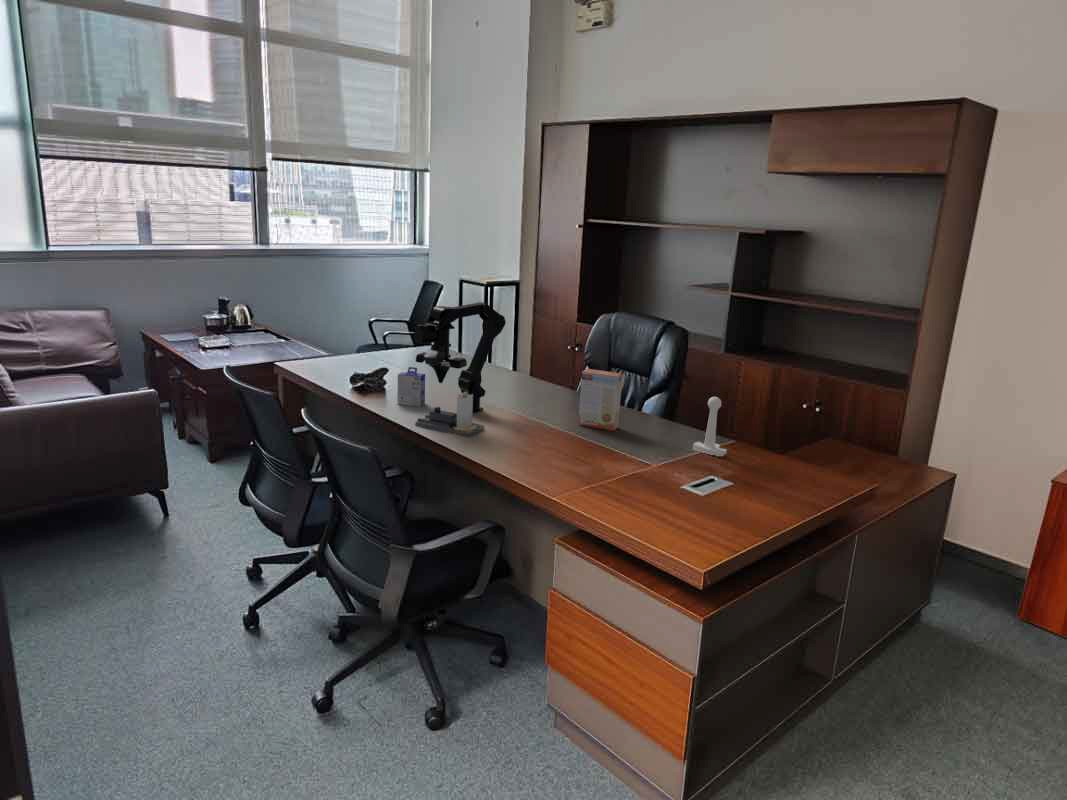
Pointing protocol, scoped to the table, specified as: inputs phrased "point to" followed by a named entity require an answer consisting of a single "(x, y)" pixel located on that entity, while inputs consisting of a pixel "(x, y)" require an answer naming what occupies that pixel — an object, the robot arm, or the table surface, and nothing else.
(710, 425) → the joystick
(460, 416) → the housing
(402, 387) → the ink cartridge box
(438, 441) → the table surface
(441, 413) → the ram
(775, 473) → the table surface
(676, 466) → the table surface
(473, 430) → the press bed
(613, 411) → the cracker box
